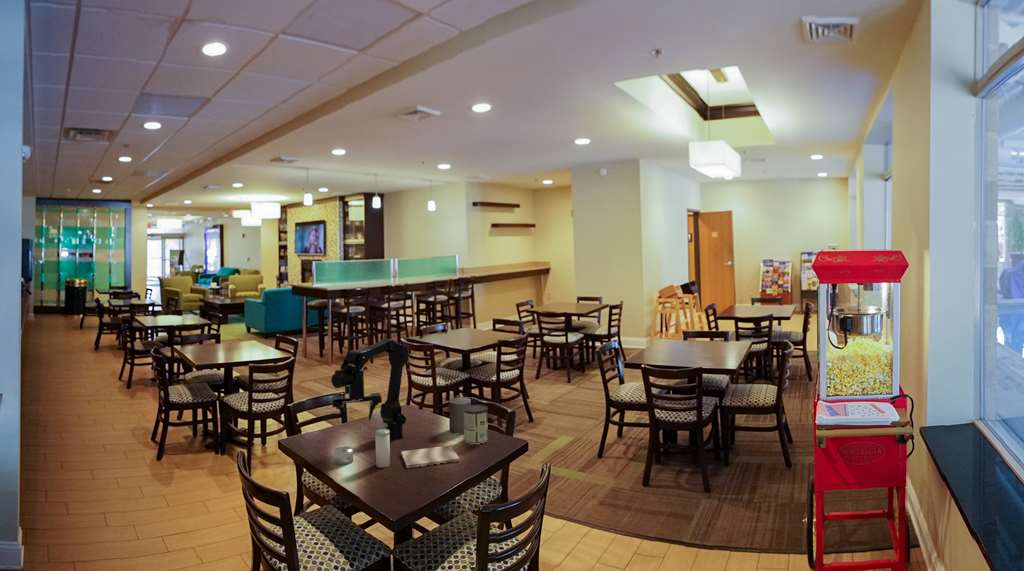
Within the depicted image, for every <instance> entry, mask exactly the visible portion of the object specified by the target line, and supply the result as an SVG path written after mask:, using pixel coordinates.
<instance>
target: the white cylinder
mask: <svg viewBox="0 0 1024 571" xmlns="http://www.w3.org/2000/svg"><path fill="white" fill-rule="evenodd" d="M389 434H390V430H388V429H385V428H382V429H381V428H379V429H376V430H375V431H374V436H375V437H374V438H375V439H374V440H375V466H376V467H377V468H381V469H383V468H387V467H390V466H391V443H390V441H391V440H390V436H389Z"/></svg>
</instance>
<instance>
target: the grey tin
mask: <svg viewBox="0 0 1024 571" xmlns="http://www.w3.org/2000/svg"><path fill="white" fill-rule="evenodd" d="M333 460H334V461H333V462H334V465H335V466H338V465H339V467H341V466H342V465H344V466H348V464H349V465H351V464H353V463H352V462H354V447H352V446H340V447H336V448H335V449H334V450H333ZM342 467H343V466H342Z"/></svg>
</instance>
